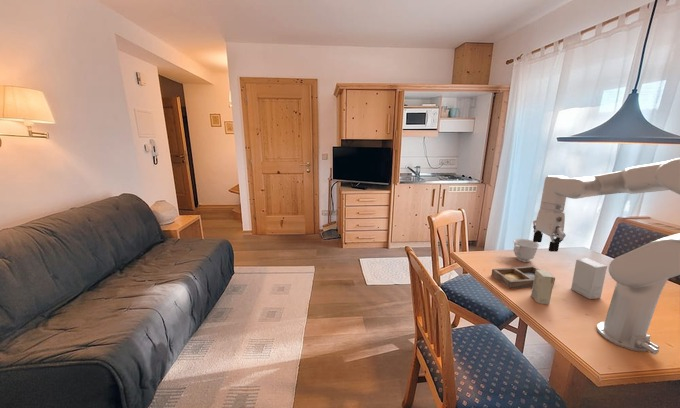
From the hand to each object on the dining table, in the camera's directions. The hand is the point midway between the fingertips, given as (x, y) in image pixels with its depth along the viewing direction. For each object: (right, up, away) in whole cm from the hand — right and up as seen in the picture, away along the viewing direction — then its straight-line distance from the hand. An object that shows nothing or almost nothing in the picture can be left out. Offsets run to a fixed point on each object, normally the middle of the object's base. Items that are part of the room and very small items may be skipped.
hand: (544, 246), depth 110 cm
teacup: (+15, -13, +36) cm, 41 cm away
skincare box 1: (-1, -23, +1) cm, 23 cm away
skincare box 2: (+21, -22, +5) cm, 31 cm away
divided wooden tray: (+2, -18, +16) cm, 25 cm away
